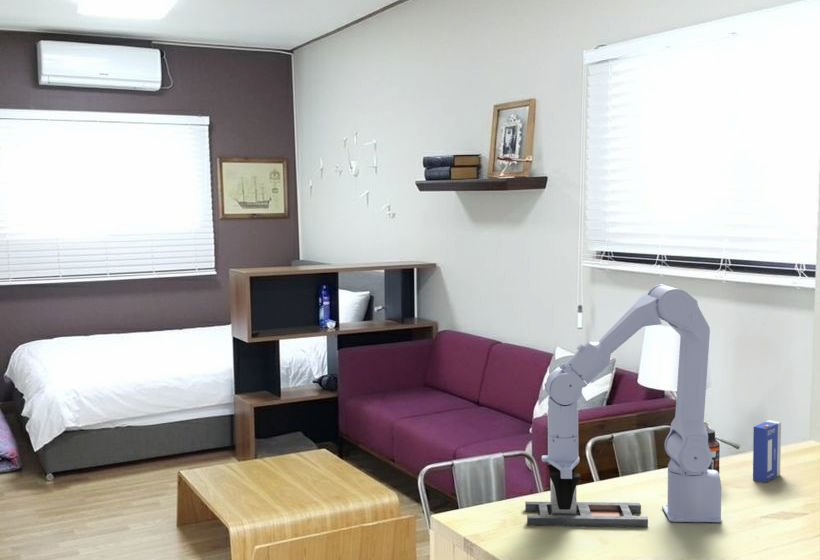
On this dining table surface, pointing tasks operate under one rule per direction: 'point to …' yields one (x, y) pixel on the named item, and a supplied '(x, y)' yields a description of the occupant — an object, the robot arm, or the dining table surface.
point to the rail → (587, 515)
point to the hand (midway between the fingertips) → (563, 504)
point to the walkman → (766, 451)
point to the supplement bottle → (713, 450)
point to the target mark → (604, 513)
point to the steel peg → (554, 504)
